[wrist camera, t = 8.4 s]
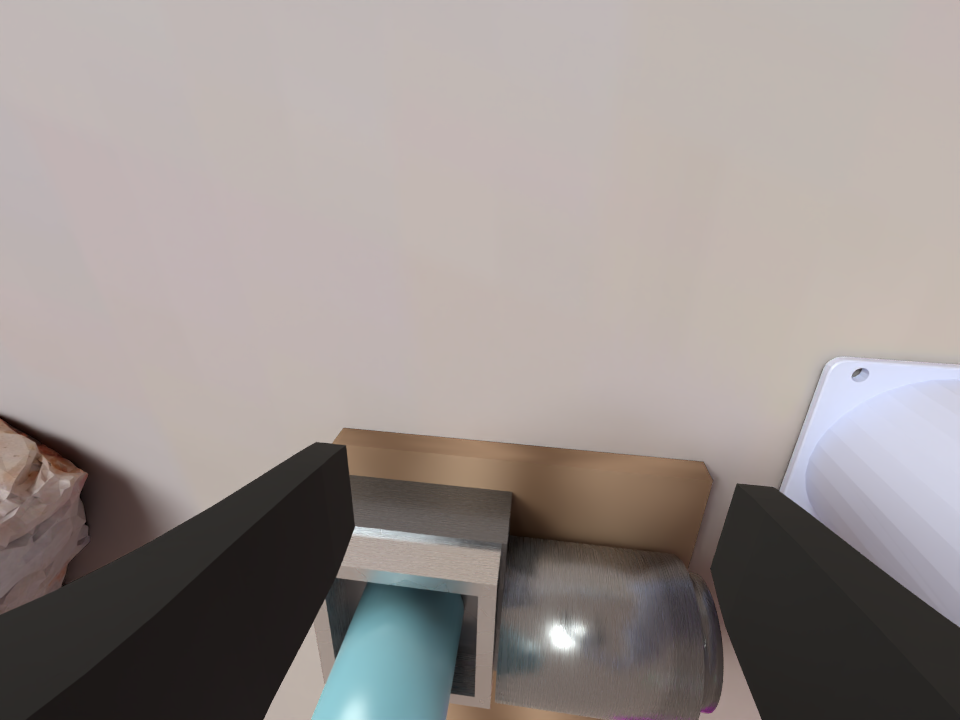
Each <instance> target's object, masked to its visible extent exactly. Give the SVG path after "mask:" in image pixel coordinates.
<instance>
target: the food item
mask: <svg viewBox="0 0 960 720" xmlns="http://www.w3.org/2000/svg"><path fill="white" fill-rule="evenodd" d="M87 476H88V473H86V472H84V471H83V470H81V469H78V468H77V467H76V466H75V465H74V464H73V463H72V462H71V461H69V460H68V459H65V458H63V457H62V456H61V455H60V454H59V453H57V452H56V451H54V450H53V449H50V448H48V447H47V446H46V445H43V444H42V443H41V442H39V441H38V440H36V439H34V438H32V437H31V436H29V435H27V434H26V433H24V432H22V431H20V430H18V429H16V428H14V427H12V426H10V425H9V424H8V423H6V422H5V421H3V420H2V419H0V615H1V614H3V613H6V612H8V611H10V610H12V609H15V608H17V607H19V606H21V605H24V604H26V603H28V602H31V601H33V600H35V599H37V598H40V597H42V596H44V595H46V594H48V593H51V592H53V591H55V590H57V589H59V588H61V587H62V582H63V580H64V577H65V575H66V570H67V565H68V563H69V562H70V561H71V560H72V559H73V558H74V557H75V555H77V554H78V553H79V552H80V551H81V550H82V549H83V548H84V547H85V546H86V545H87V544H88V543H89V541H90V536H88V526H87V525H85V524H84V523H85V522H86V518H85V512H84V507H83V503H82V501H81V499H80V497H79V496H80V493H81V490H82V488H83V486H84V483H85V481H86V479H87Z"/></svg>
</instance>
